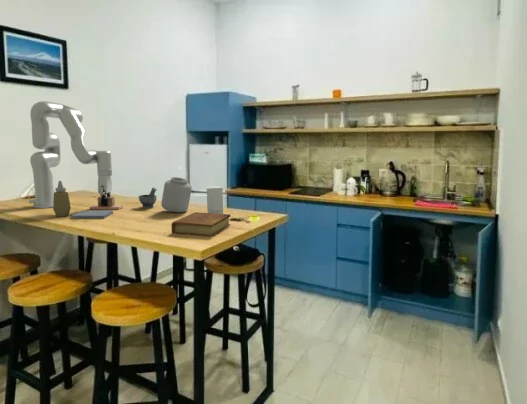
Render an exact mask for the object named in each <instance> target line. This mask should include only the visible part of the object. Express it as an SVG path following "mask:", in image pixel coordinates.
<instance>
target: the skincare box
mask: <svg viewBox="0 0 527 404" xmlns="http://www.w3.org/2000/svg"><path fill="white" fill-rule="evenodd" d="M223 191H224V189H223V186H222V185H221V186H220V185H219V186H217V185H216V186H207V187H206V202H207V203H206V204H207V205H206V208H207V212H206V213H215V214H224V196H223Z"/></svg>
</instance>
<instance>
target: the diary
mask: <svg viewBox="0 0 527 404" xmlns="http://www.w3.org/2000/svg"><path fill="white" fill-rule="evenodd" d="M230 217H231V214H229V213H227V214H225V213H223V214H215V213H207V212H199V211H198V212H197V211H195V212H193V213H190V214H188V215H185V216H184V217H181V218H179V219H177V220H175V221H172V222H171V233H172V234H174V233H176V234H175V235H186V234H189V236H199V235H201V237H211V236H213V237H214V236H216V235H217V234H218V232H219V233H221V232H222V231H224V230H225V229H226V227H227V226H228V227H230V226H231V223H230ZM229 225H230V226H229ZM228 227H227V228H228ZM224 228H225V229H224ZM223 229H224V230H223ZM221 230H222V231H221ZM215 234H216V235H215Z"/></svg>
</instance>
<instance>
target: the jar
mask: <svg viewBox="0 0 527 404" xmlns="http://www.w3.org/2000/svg"><path fill="white" fill-rule="evenodd" d="M179 169H180V170H181V167H179ZM185 175H188V173H185ZM188 181H189V180H188V179H186V178H183V177H176V176H175V177H174V176H172V177H170V179H169V180H168V179H167V180H166V181H165V182H164V186H163V191H162V198H161V205H160V206H161V207H162V208H163V210H165V211H168V212H170V213H177V214H178V213H180V214H181V213H185V212H187V211H188V208H189V204H190V200H191V199H190V198H191V193H192V190H193V189H192V185H191V184H190V183H189V182H188ZM192 207H194V205H193V206H192Z"/></svg>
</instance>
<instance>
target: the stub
mask: <svg viewBox="0 0 527 404" xmlns="http://www.w3.org/2000/svg"><path fill="white" fill-rule="evenodd" d="M107 201H108V205H107V206H102V204H101V196H99V197H97V204H93V205H91V206H89V210H120V209H122V208H123V207H124V204H116V203H115V201H116V200H115V196H111V197H107Z"/></svg>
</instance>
